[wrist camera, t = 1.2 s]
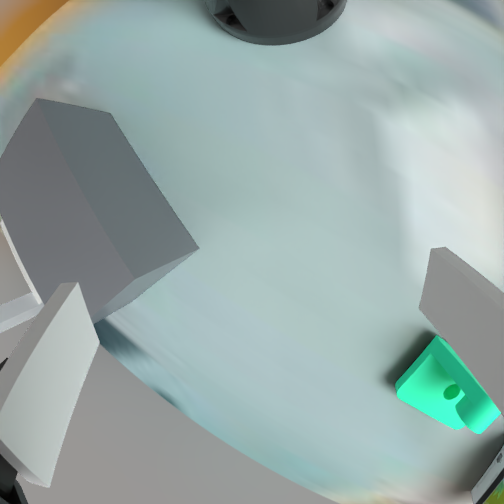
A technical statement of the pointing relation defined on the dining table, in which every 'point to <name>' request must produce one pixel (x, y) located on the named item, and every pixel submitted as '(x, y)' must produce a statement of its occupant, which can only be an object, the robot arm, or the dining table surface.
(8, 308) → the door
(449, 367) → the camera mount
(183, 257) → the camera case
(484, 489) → the tea box
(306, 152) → the dining table surface
